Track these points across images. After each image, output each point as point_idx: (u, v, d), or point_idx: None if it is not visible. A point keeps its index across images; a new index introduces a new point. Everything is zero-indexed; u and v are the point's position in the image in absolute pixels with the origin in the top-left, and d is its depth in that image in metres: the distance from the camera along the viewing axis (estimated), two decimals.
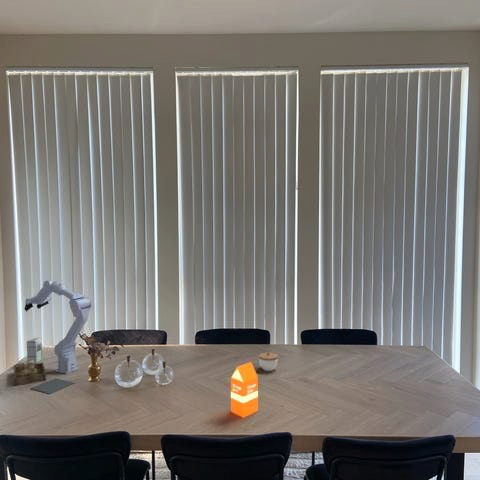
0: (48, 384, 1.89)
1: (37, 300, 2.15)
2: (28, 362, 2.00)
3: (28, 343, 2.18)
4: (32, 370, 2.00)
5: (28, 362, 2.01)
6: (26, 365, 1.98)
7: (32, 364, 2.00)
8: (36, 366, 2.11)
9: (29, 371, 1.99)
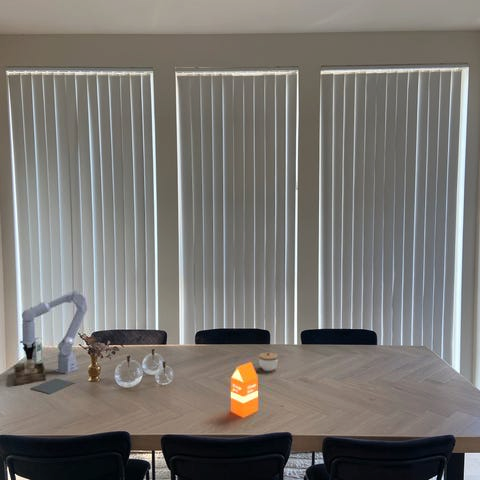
0: (48, 384, 1.89)
1: (31, 338, 1.99)
2: (28, 362, 2.00)
3: None
4: (32, 370, 2.00)
5: (28, 362, 2.01)
6: (26, 365, 1.98)
7: (32, 364, 2.00)
8: (36, 366, 2.11)
9: (29, 371, 1.99)
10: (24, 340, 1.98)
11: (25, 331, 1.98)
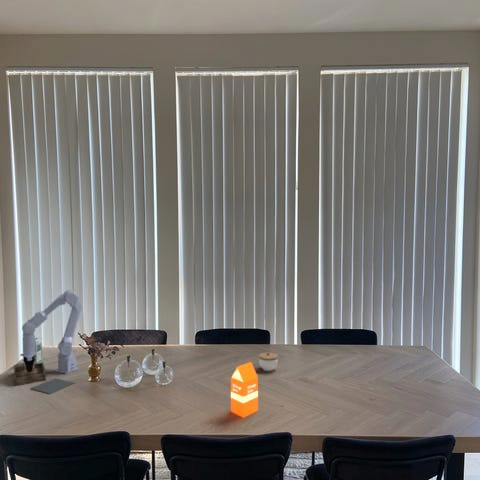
0: (48, 384, 1.89)
1: (31, 351, 1.99)
2: None
3: None
4: (32, 370, 2.00)
5: None
6: None
7: None
8: (36, 366, 2.11)
9: None
10: (24, 353, 1.98)
11: (25, 344, 1.98)
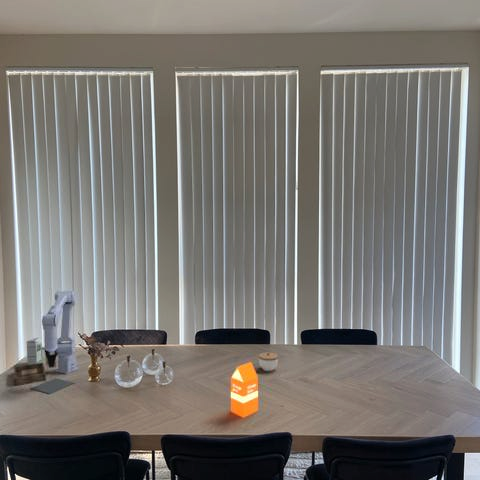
0: (48, 384, 1.89)
1: (54, 345, 1.86)
2: None
3: (28, 343, 2.18)
4: (54, 365, 1.87)
5: None
6: (47, 360, 1.85)
7: None
8: (36, 366, 2.11)
9: None
10: (46, 347, 1.85)
11: (54, 336, 1.87)
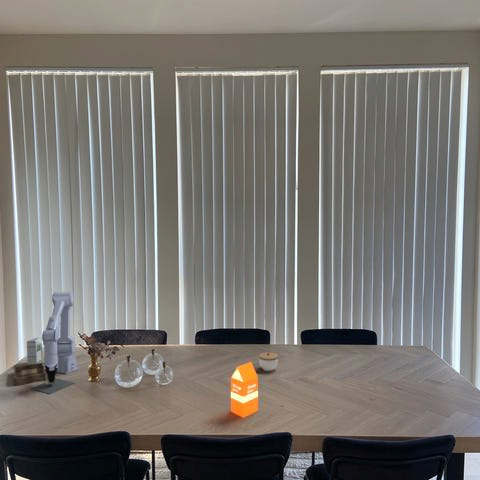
0: (48, 384, 1.89)
1: (54, 360, 1.86)
2: None
3: (28, 343, 2.18)
4: (54, 381, 1.87)
5: None
6: (47, 375, 1.85)
7: None
8: (36, 366, 2.11)
9: None
10: (46, 362, 1.85)
11: (54, 352, 1.86)
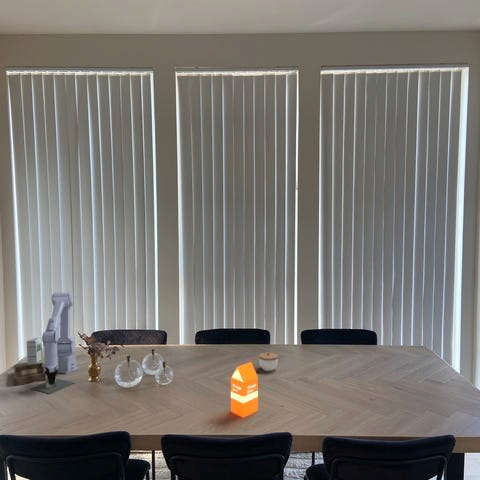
0: None
1: (54, 362, 1.86)
2: None
3: (28, 343, 2.18)
4: (54, 384, 1.87)
5: None
6: None
7: None
8: (36, 366, 2.11)
9: (51, 385, 1.86)
10: (46, 364, 1.85)
11: (54, 353, 1.86)
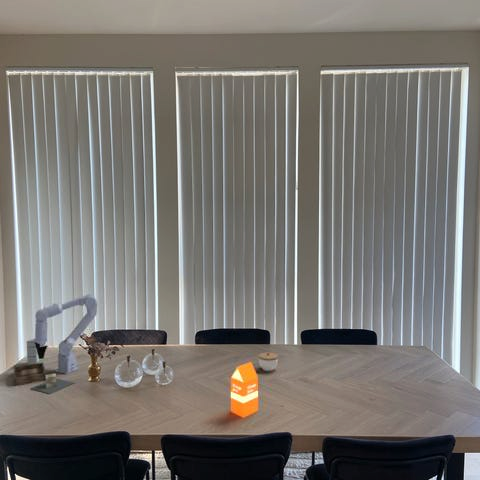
0: None
1: (44, 338, 2.03)
2: (50, 376, 1.87)
3: (28, 343, 2.18)
4: (54, 384, 1.87)
5: (50, 375, 1.88)
6: (48, 379, 1.85)
7: (54, 378, 1.87)
8: (36, 366, 2.11)
9: (51, 385, 1.86)
10: (37, 339, 2.02)
11: (37, 330, 2.02)
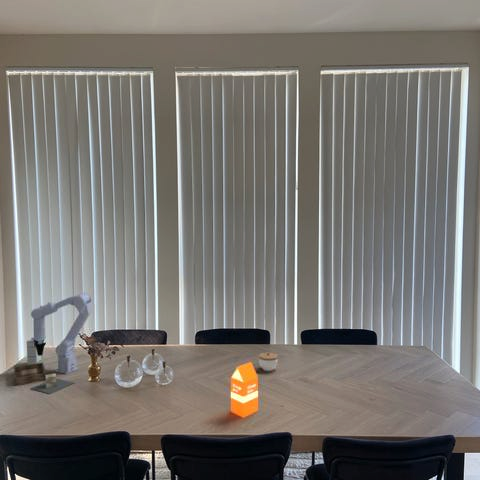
0: None
1: (42, 335, 2.08)
2: (50, 376, 1.87)
3: (28, 343, 2.18)
4: (54, 384, 1.87)
5: (50, 375, 1.88)
6: (48, 379, 1.85)
7: (54, 378, 1.87)
8: (36, 366, 2.11)
9: (51, 385, 1.86)
10: (35, 337, 2.07)
11: (34, 328, 2.07)
